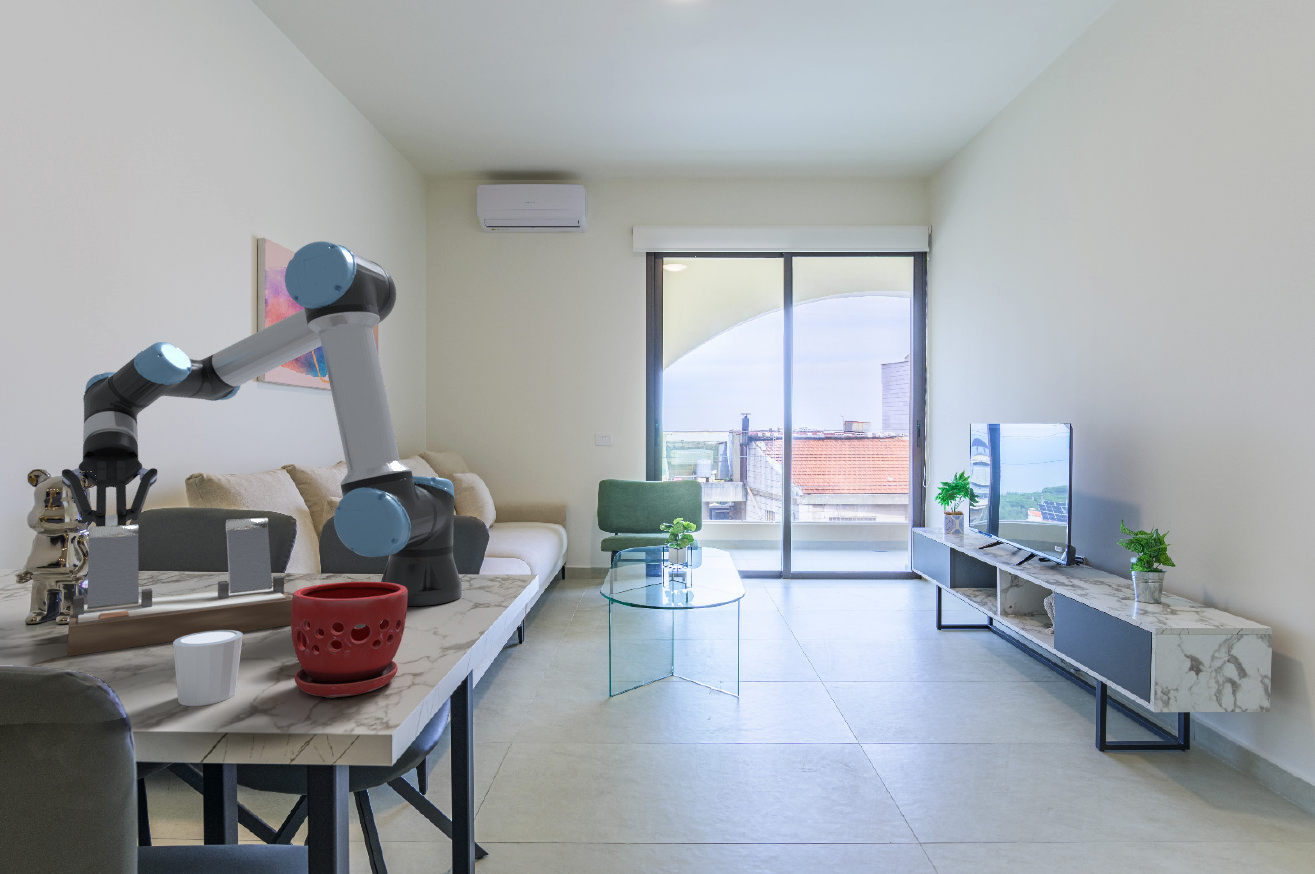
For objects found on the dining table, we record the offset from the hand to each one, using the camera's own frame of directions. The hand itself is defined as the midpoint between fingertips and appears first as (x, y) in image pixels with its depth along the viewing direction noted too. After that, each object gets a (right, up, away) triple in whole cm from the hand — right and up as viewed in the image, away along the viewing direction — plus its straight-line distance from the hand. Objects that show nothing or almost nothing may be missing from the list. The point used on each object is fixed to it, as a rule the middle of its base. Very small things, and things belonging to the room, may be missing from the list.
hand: (111, 552), depth 108 cm
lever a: (+18, -8, +7) cm, 21 cm away
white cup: (+33, -13, -27) cm, 44 cm away
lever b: (+4, -8, -5) cm, 10 cm away
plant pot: (+47, -13, -22) cm, 54 cm away
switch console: (+11, -12, +1) cm, 16 cm away
